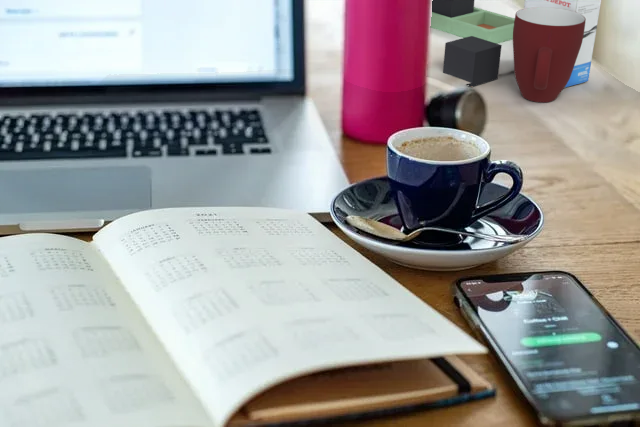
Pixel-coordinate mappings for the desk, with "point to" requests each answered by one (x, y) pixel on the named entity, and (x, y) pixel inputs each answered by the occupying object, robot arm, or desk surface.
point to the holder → (476, 25)
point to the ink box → (587, 5)
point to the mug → (545, 50)
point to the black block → (452, 7)
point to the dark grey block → (472, 60)
